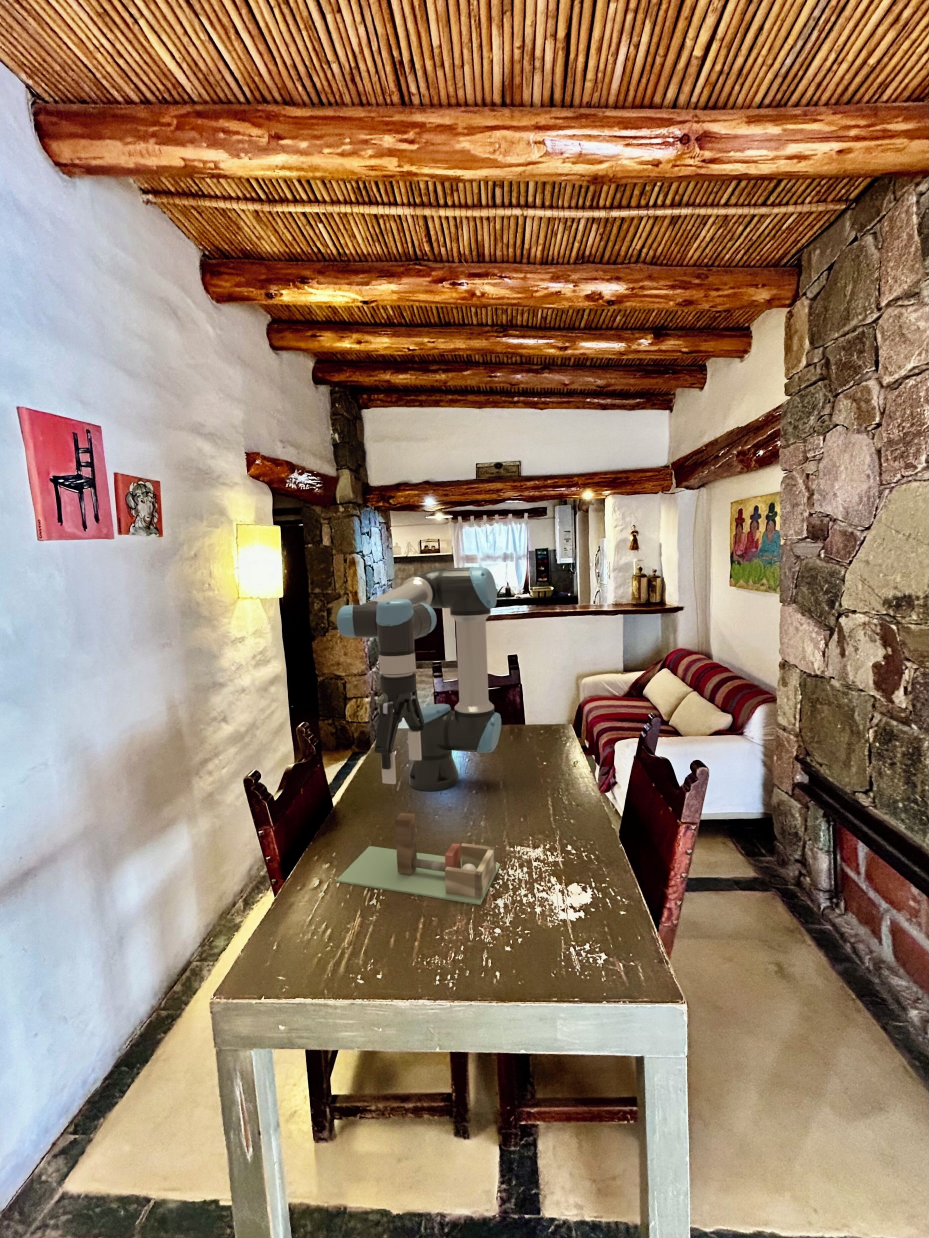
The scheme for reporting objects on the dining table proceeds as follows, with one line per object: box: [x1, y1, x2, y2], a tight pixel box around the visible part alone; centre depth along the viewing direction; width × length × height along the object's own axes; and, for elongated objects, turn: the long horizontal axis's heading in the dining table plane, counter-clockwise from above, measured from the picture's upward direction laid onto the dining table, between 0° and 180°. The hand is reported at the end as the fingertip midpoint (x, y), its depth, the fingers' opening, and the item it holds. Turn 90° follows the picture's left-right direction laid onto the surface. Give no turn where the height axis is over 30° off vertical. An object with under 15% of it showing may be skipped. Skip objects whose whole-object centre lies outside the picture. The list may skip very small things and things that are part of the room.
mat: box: [336, 845, 501, 906], centre depth 126 cm, size 15×32×1 cm, turn 72°
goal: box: [445, 842, 497, 899], centre depth 122 cm, size 11×7×5 cm, turn 162°
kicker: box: [394, 812, 461, 874], centre depth 124 cm, size 5×13×12 cm, turn 72°
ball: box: [461, 864, 477, 871], centre depth 122 cm, size 4×4×4 cm
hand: (403, 770), depth 125 cm, fingers open, 13 cm apart
